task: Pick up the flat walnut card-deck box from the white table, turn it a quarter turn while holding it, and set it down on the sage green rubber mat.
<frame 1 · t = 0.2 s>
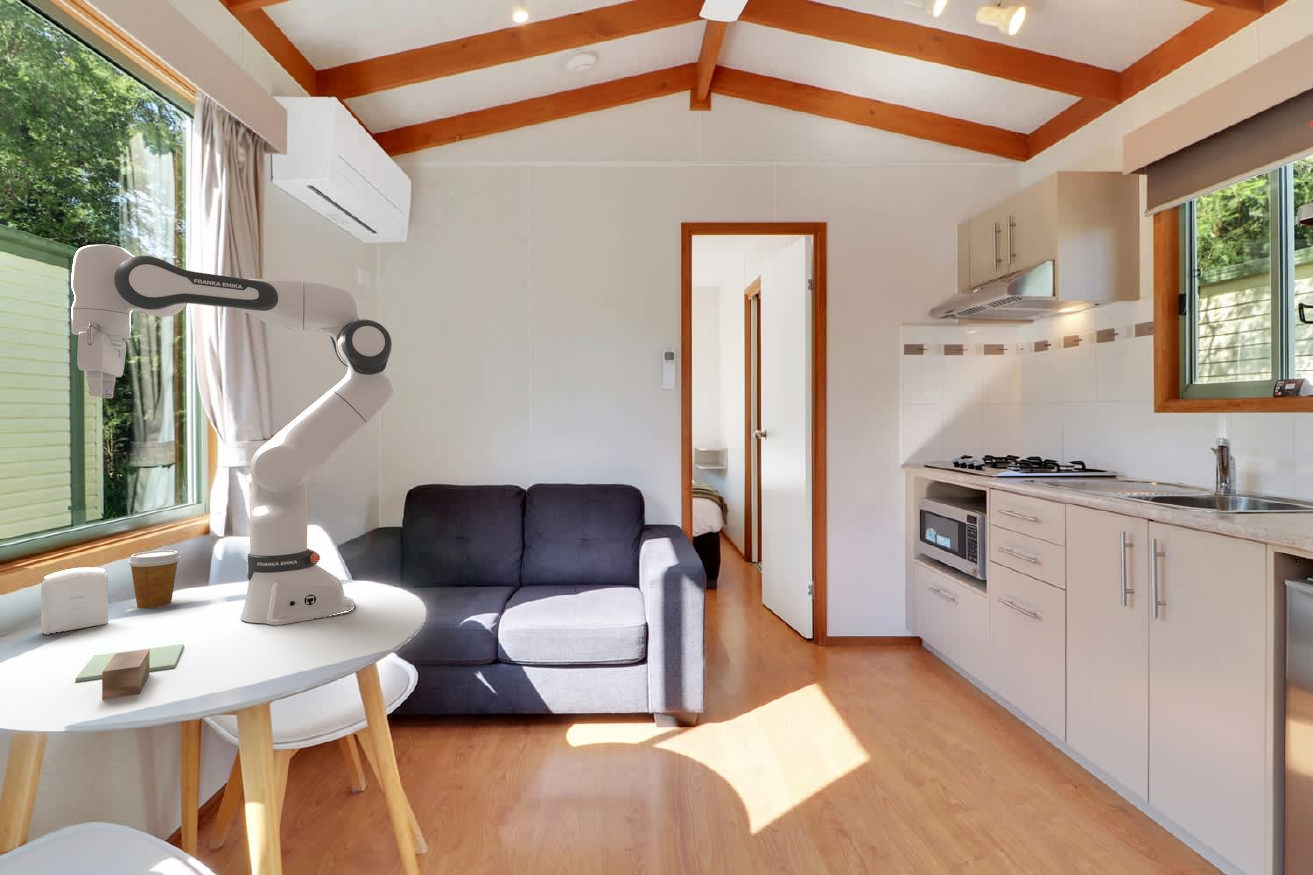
hand: (101, 397, 126), 48 cm above the table, tool pointing down, fingers open, 8 cm apart
deck box: (126, 687, 102), on the table
disposable coffee cup: (154, 605, 148), on the table
rubber mat: (133, 663, 112), on the table
photo printer: (75, 629, 130), on the table
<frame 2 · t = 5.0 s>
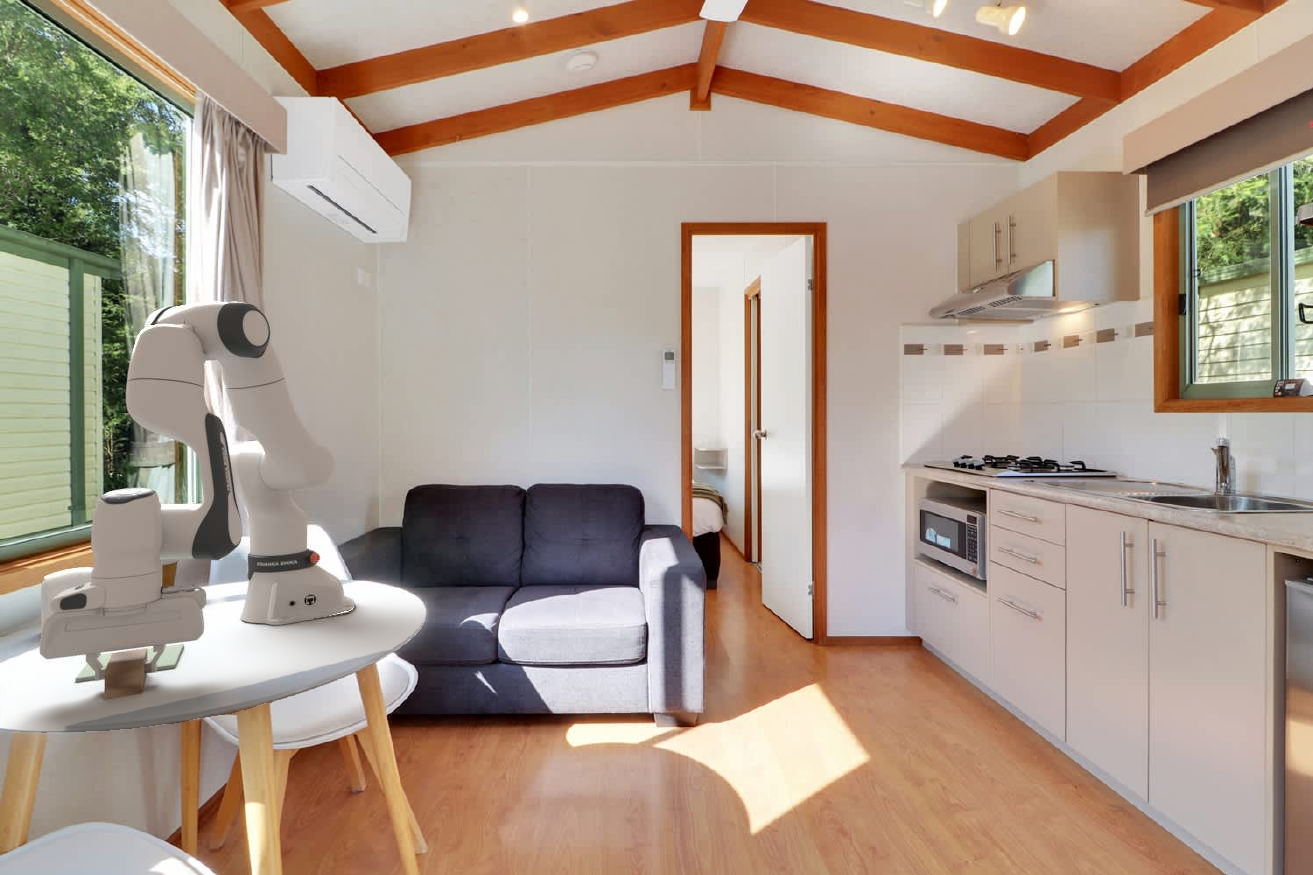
hand: (126, 675, 102), 2 cm above the table, tool pointing down, fingers closed on deck box, 5 cm apart
deck box: (126, 686, 102), on the table, touching gripper
everything else where it was.
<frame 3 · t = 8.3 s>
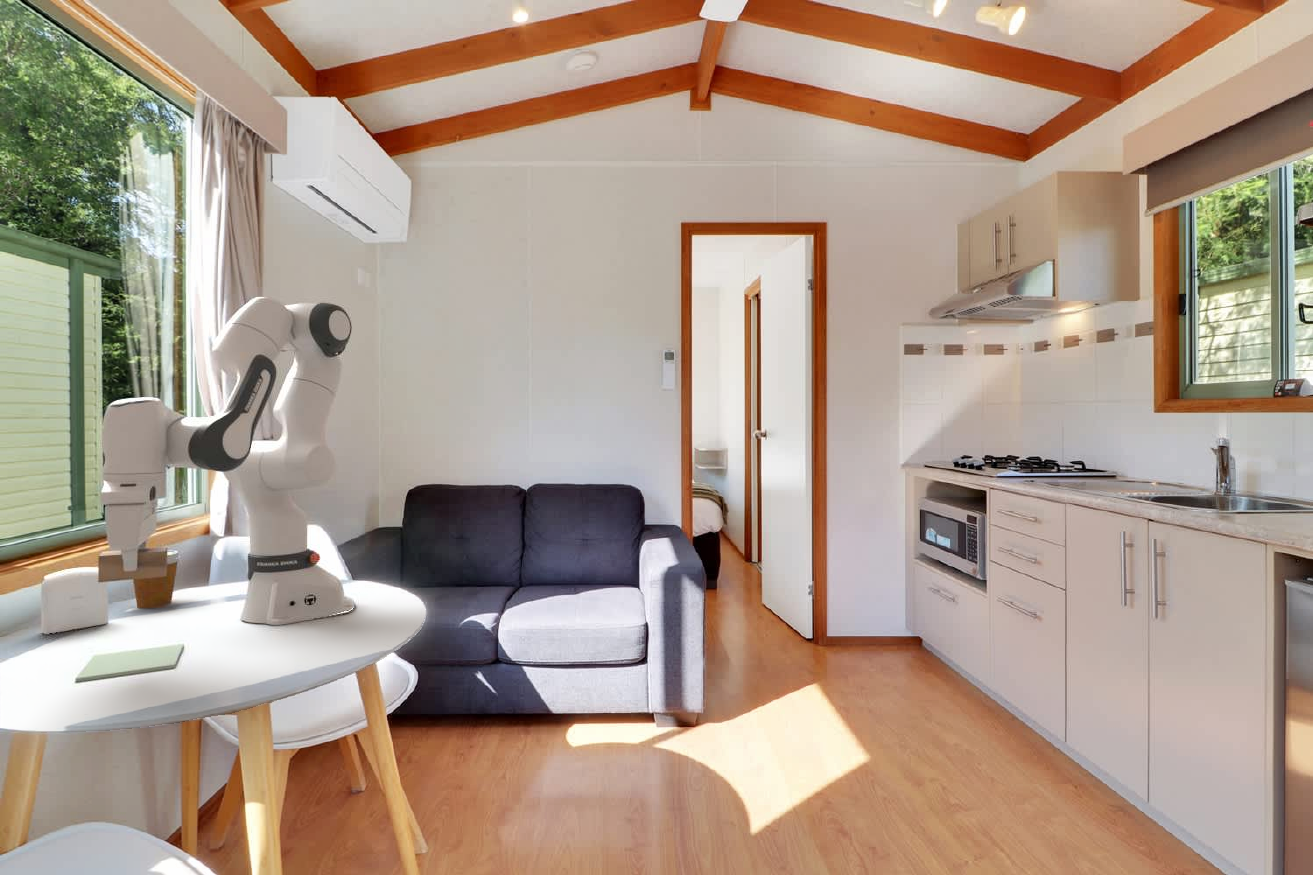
hand: (134, 567, 112), 17 cm above the table, tool pointing down, fingers closed on deck box, 5 cm apart
deck box: (134, 576, 112), point 15 cm above the table, touching gripper
everything else where it was.
when the fingers open (4 cm above the table, at t = 11.5 s): deck box drops 1 cm, resting on rubber mat.
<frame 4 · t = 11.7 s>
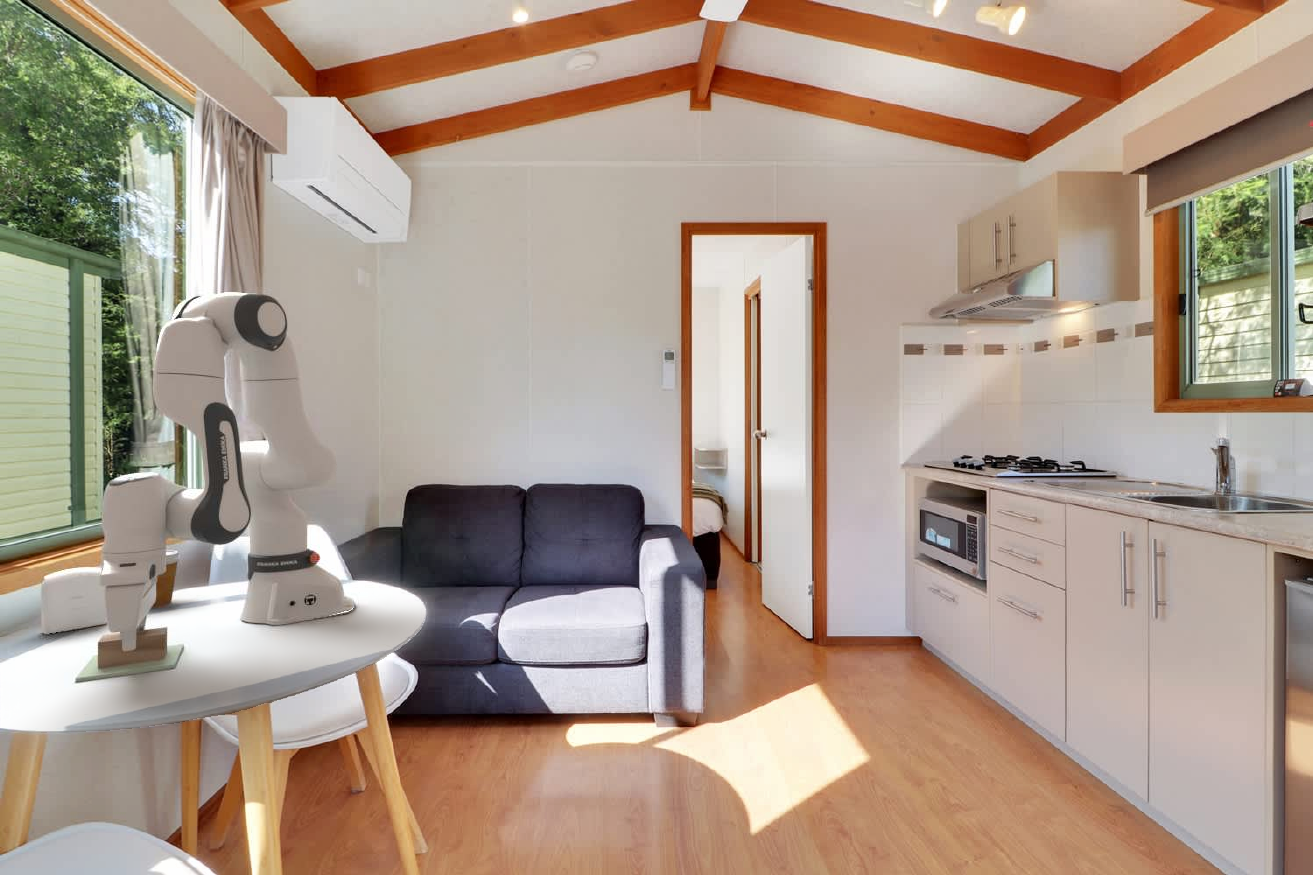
hand: (134, 642, 112), 4 cm above the table, tool pointing down, fingers open, 6 cm apart
deck box: (133, 659, 112), point 1 cm above the table, touching rubber mat
everything else where it was.
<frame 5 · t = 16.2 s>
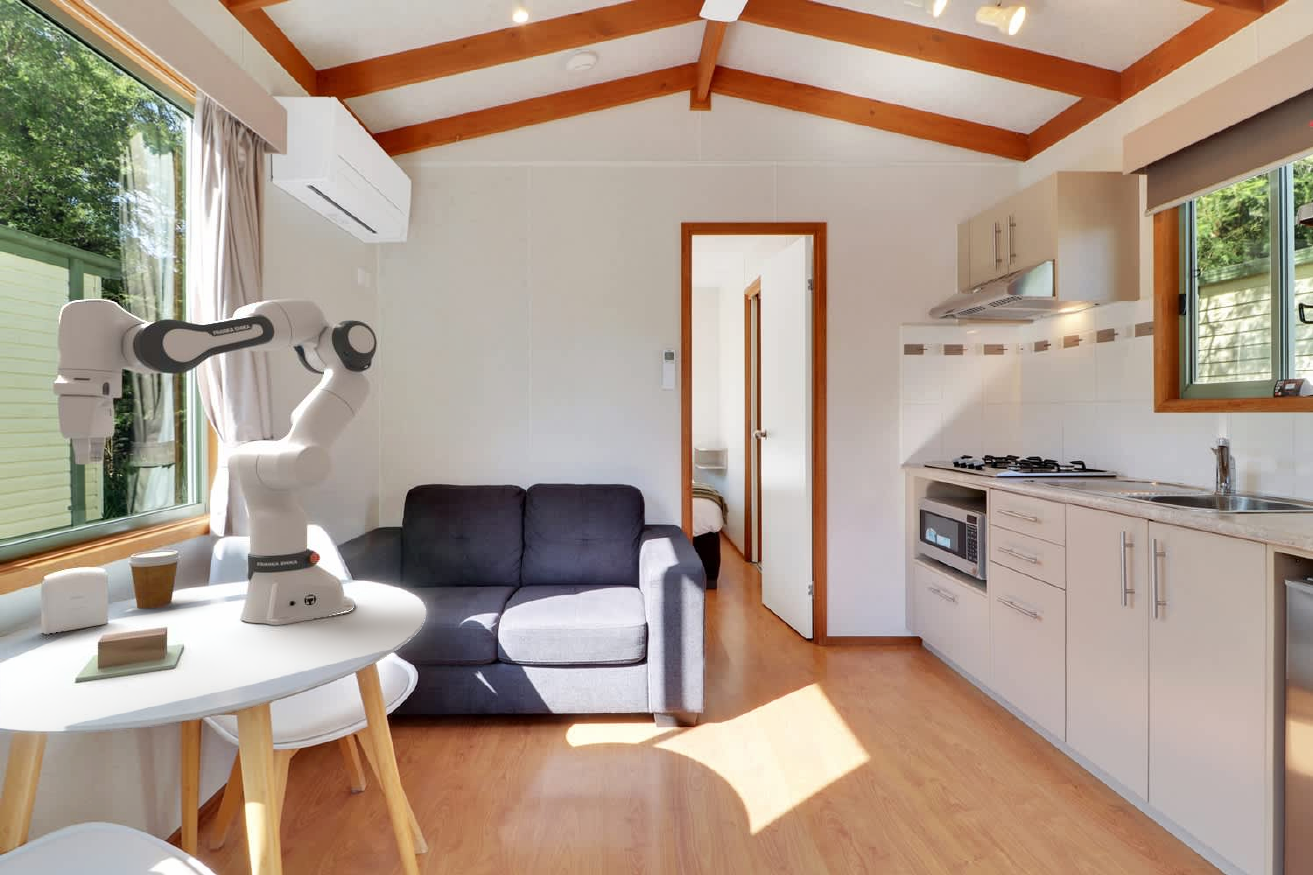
hand: (89, 462, 116), 35 cm above the table, tool pointing down, fingers open, 8 cm apart
nothing on the table moved.
at the end: deck box inside the target area (0.0 cm from its centre), point 0.6 cm above the table; deck box touching rubber mat; the gripper is holding nothing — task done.
